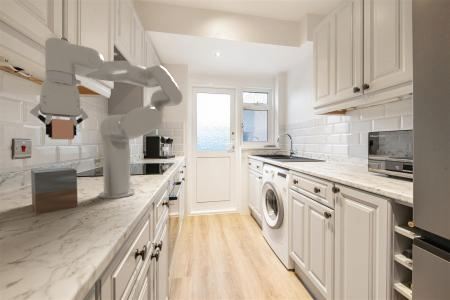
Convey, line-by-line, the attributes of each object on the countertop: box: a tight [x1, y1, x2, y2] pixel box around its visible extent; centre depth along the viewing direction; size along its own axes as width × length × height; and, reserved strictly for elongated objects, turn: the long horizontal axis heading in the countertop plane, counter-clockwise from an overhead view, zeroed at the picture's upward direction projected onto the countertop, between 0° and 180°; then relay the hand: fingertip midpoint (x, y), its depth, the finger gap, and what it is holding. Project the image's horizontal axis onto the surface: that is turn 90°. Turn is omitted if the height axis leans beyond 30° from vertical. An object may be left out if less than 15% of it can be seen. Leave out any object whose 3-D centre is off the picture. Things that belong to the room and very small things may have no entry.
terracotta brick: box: [49, 118, 74, 140], centre depth 67 cm, size 8×5×6 cm, turn 44°
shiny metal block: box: [30, 166, 79, 215], centre depth 68 cm, size 14×10×12 cm
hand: (61, 137), depth 67 cm, fingers closed on terracotta brick, 5 cm apart
